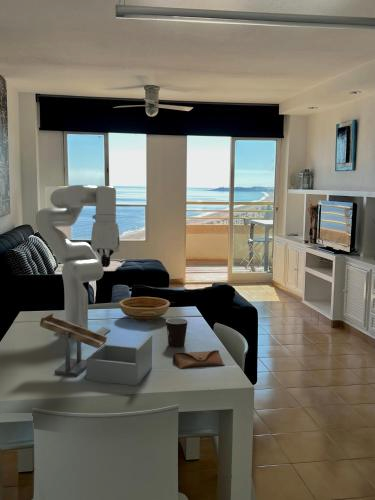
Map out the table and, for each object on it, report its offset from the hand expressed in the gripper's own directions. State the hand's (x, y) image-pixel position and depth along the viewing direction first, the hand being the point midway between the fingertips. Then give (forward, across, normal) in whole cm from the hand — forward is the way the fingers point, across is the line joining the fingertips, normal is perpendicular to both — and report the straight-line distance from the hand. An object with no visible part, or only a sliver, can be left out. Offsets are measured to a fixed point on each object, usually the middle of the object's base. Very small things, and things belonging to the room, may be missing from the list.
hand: (105, 266), depth 186 cm
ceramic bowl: (+32, +2, +44) cm, 55 cm away
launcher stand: (+32, -2, -24) cm, 40 cm away
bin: (+32, +15, -24) cm, 43 cm away
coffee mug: (+32, +26, +12) cm, 43 cm away
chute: (+20, -2, -19) cm, 28 cm away
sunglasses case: (+33, +39, -7) cm, 51 cm away
